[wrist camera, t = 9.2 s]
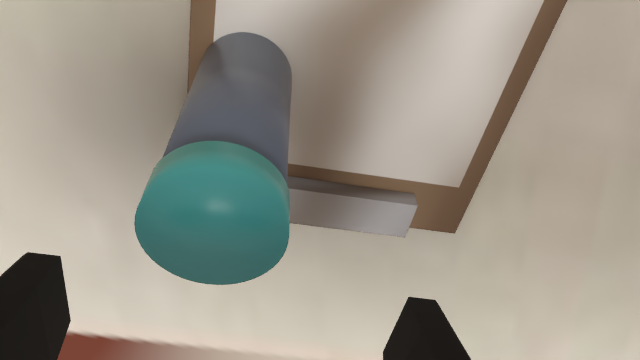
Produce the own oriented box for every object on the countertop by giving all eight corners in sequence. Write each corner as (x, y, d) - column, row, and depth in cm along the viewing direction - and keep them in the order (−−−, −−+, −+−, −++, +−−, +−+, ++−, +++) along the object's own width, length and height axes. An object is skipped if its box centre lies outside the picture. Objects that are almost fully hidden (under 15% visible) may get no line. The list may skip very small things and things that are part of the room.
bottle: (302, 39, 17) (300, 185, 10) (286, 125, 19) (276, 291, 12) (199, 20, 16) (132, 161, 10) (194, 110, 18) (135, 275, 12)
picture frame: (658, -208, 13) (685, -209, 12) (452, 227, 23) (459, 245, 22) (206, -330, 12) (197, -341, 11) (185, 192, 21) (179, 211, 20)
